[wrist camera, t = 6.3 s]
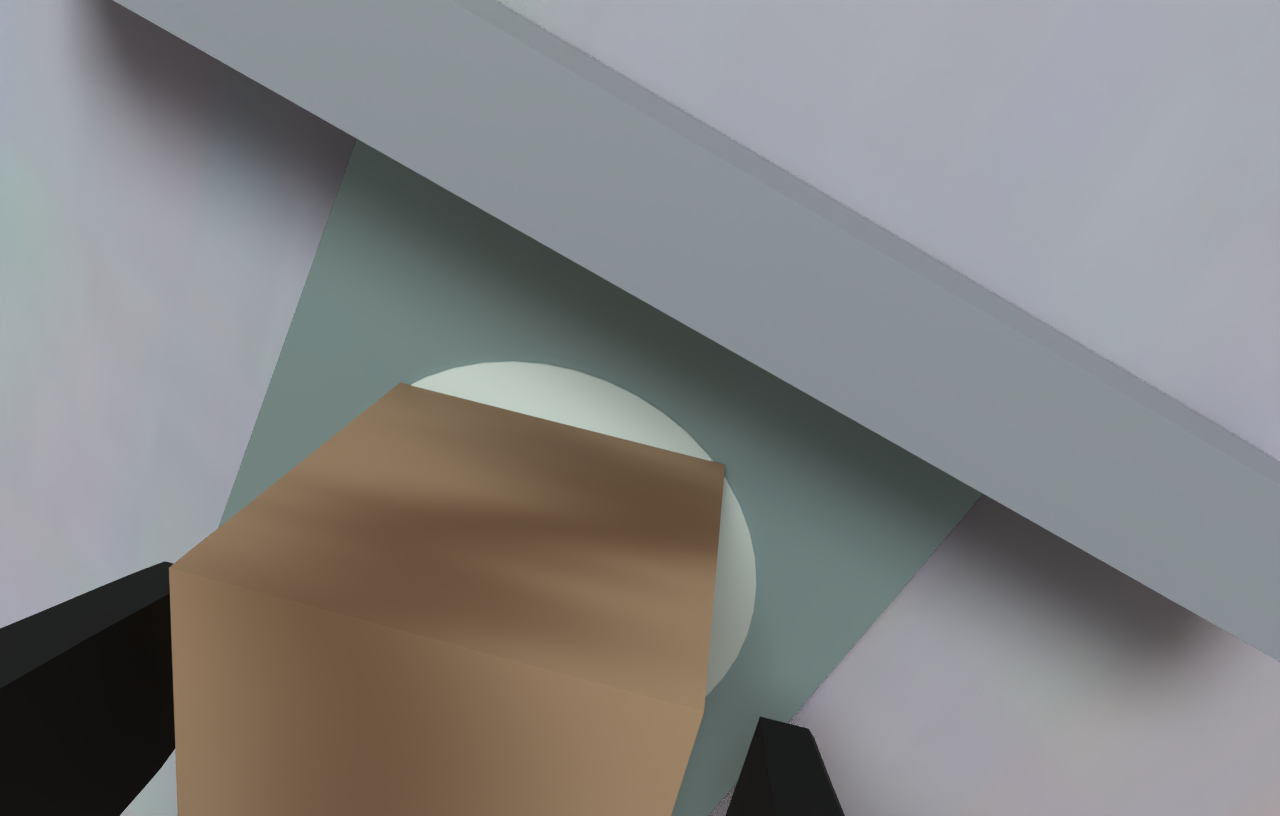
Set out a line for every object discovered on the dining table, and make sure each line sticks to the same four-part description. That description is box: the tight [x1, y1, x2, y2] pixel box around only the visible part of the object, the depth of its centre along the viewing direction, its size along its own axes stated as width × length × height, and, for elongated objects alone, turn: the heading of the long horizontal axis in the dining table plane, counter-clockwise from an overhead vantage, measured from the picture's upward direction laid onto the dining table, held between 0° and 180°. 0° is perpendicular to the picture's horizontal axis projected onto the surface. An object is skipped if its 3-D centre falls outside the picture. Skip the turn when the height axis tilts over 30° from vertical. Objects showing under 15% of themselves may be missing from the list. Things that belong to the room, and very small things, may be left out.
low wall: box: [113, 0, 1280, 662], centre depth 9 cm, size 18×2×4 cm, turn 63°
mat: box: [219, 139, 983, 816], centre depth 13 cm, size 10×10×1 cm
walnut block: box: [169, 382, 725, 816], centre depth 10 cm, size 5×5×5 cm
